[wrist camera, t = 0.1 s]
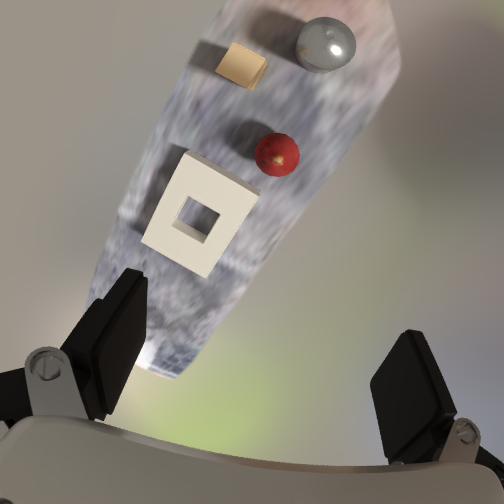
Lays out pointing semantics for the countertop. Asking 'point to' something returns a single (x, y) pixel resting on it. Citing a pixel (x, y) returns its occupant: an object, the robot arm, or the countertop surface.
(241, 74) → the square peg
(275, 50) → the countertop surface
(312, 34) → the round peg
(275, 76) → the countertop surface
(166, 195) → the socket block
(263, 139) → the onion
